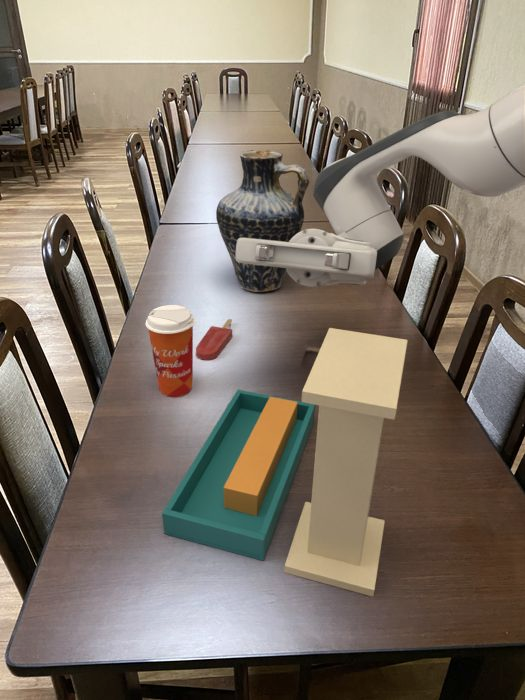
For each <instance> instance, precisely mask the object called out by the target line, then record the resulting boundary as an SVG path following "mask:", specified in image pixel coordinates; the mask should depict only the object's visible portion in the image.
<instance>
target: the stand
mask: <svg viewBox="0 0 525 700" xmlns="http://www.w3.org/2000/svg"><path fill="white" fill-rule="evenodd" d="M407 347H408V339H406V338H405V339H404V338H398V337H392V336H384V335H379V334H374V333H373V334H372V333H365V332H359V331H354V330H347V329H339V328H333V327H329V328H328V330H327V333H326V335H325V337H324V339H323V341H322V344H321V345H320V349H319V351H318V353H317V356H316V358H315V361H314V363H313V365H312V368H311V370H310V372H309V374H308V376H307V380H306V381H305V384H304V386H303V387H302V391H301V402H304V403H309V404H314V405H315V406H318V417H317V428H316V439H315V440H316V441H315V451H314V452H315V453H314V463H313V465H314V466H313V475H312V476H313V479H312V488H311V489H312V491H311V502H310V501H305V502H304V504H303V508H302V510H301V513H300V517H299V520H298V523H297V525H296V528H295V531H294V535H293V539H292V540H291V545H290V548H289V551H288V554H287V557H286V559H285V560H286V561H285V563H284V568H283V569H284V571H283V573H285V574H288V575H292V576H296V577H299V578H302V579H307V580H310V581H314V582H317V583H321V584H325V585H329V586H331V587H332V586H333V587H336V588H339V589H342V590H346V591H350V592H354V593H357V594H361V595H364V596H369V597H372V598H373V597H374V596H375V589H376V585H377V577H378V569H379V563H380V556H381V551H382V550H381V548H382V542H383V536H384V529H385V522H386V520H385V519H382V518H381V519H379V518H376V517H372V516H369V514H370V508H371V503H372V497H373V496H372V495H373V489H374V483H375V476H376V471H377V465H378V457H379V451H380V446H381V439H382V434H383V427H384V421H385V419H387V420H396V415H397V408H398V404H399V403H398V402H399V398H400V397H399V396H400V390H401V385H402V379H403V371H404V366H405V360H406V352H407Z"/></svg>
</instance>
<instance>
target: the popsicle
mask: <svg viewBox="0 0 525 700" xmlns="http://www.w3.org/2000/svg"><path fill="white" fill-rule="evenodd" d="M232 322H233V319H231V318H229V319H227V320H226V321H225V323H224V324H223V325H222V326H221V327H220V326H214V325H211V326H210V327H209V328H208V330H207V331H206V332H205V334H204V336H203V337H202V338H201V340H200V342H198V344H197V345H196V347H195V355H196V357H197V359H200V360H204V361H210V360H214V359H216V358H217V357H218V356H219V355H220V354H221V352H222V351H223V350H224V348H225V347H226V346H227V344H228V343H229V342H230V340H231V339H232V338H233V329H232V328H229V326H230V325H231V324H232Z"/></svg>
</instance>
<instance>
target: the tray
mask: <svg viewBox="0 0 525 700" xmlns="http://www.w3.org/2000/svg"><path fill="white" fill-rule="evenodd" d="M270 397H275V398H280V399H285V400H290V401H295V402H298V405H297V421H296V423H295V426H294V428H293V430H292V433H291V435H290V438H289V440H288V443H287V445H286V447H285V450H284V452H283V455H282V457H281V460H280V462H279V464H278V467H277V469H276V472H275V474H274V477H273V479H272V481H271V484H270V486H269V489H268V491H267V494H266V496H265V498H264V501H263V503H262V506H261V508H260V511H259V513H258V515H257V516H254V515H250V514H246V513H242V512H238V511H234V510H230V509H226V508H224V486H225V484H226V482H227V480H228V478H229V476H230V474H231V472H232V470H233V468H234V466H235V464H236V462H237V460H238V458H239V456H240V454H241V452H242V450H243V448H244V446H245V445H246V443H247V441H248V439H249V437H250V435H251V433H252V431H253V429H254V427H255V425H256V423H257V421H258V419H259V417H260V415H261V413H262V411H263V409H264V407H265V405H266V403H267V401H268V400H269V398H270ZM315 414H316V405H314V404H309V403H304V402H302V400H301V401H300V400H295V399H291V398H284V397H279V396H274V395H269V394H265V393H264V394H263V393H259V392H254V391H249V390H243V389H237V390H235V393H234V394H233V396H232V398H231V399H230V401H229V403H228V404H227V406H226V408H225V409H224V411H223V412H222V414H221V416H220V417H219V419H218V421H217V422H216V424H215V426H214V428H213V429H212V431H211V432H210V434H209V435H208V437H207V439H206V440H205V442H204V443H203V445H202V447H201V448H200V450H199V452H198V453H197V455H196V457H195V459H194V460H193V461H192V463H191V464H190V466H189V468H188V470H187V472H186V473H185V475H184V476H183V478H182V480H181V481H180V483H179V484H178V486H177V488H176V489H175V490H174V493H173V494H172V496H171V498H170V499H169V501H168V502H167V504H166V506H165V507H164V509H163V511H162V513H161V517H162V525H163V534H164V535H167V536H171V537H175V538H179V539H182V540H186V541H189V542H193V543H196V544H199V545H203V546H207V547H211V548H215V549H218V550H222V551H226V552H229V553H233V554H237V555H241V556H244V557H247V558H251V559H255V560H259V561H262V562H263V561H265V558H266V555H267V552H268V550H269V548H270V544H271V541H272V539H273V536H274V533H275V531H276V529H277V526H278V523H279V520H280V517H281V514H282V511H283V509H284V506H285V503H286V500H287V497H288V495H289V493H290V490H291V487H292V484H293V481H294V479H295V475H296V473H297V470H298V468H299V465H300V462H301V459H302V456H303V454H304V451H305V448H306V445H307V443H308V441H309V437H310V435H311V432H312V429H313V427H314V424H315V416H316V415H315Z"/></svg>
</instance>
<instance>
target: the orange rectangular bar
mask: <svg viewBox="0 0 525 700" xmlns="http://www.w3.org/2000/svg"><path fill="white" fill-rule="evenodd" d="M275 397H276V396H275ZM275 397H270V398H269V400H268V401H267V403H266V405H265V407H264V409H263V411H262V413H261V415H260V417H259V419H258V421H257V423H256V425H255V427H254V429H253V431H252V433H251V435H250V437H249V439H248V441H247V443H246V445H245V446H244V448H243V450H242V452H241V454H240V456H239V458H238V460H237V462H236V464H235V466H234V468H233V470H232V472H231V474H230V476H229V478H228V480H227V482H226V484H225V486H224V508H226V509H230V510H234V511H238V512H242V513H246V514H250V515H254V516H257V515H258V513H259V511H260V508H261V506H262V503H263V501H264V498H265V496H266V494H267V491H268V489H269V486H270V484H271V481H272V479H273V477H274V474H275V472H276V469H277V467H278V464H279V462H280V460H281V457H282V455H283V452H284V450H285V447H286V445H287V443H288V440H289V438H290V435H291V433H292V430H293V428H294V426H295V423H296V421H297V405H298V402H295V401H290V400H291V399H290V400H285V399H286V398H285V399H280V398H281V397H280V398H275Z"/></svg>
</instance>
